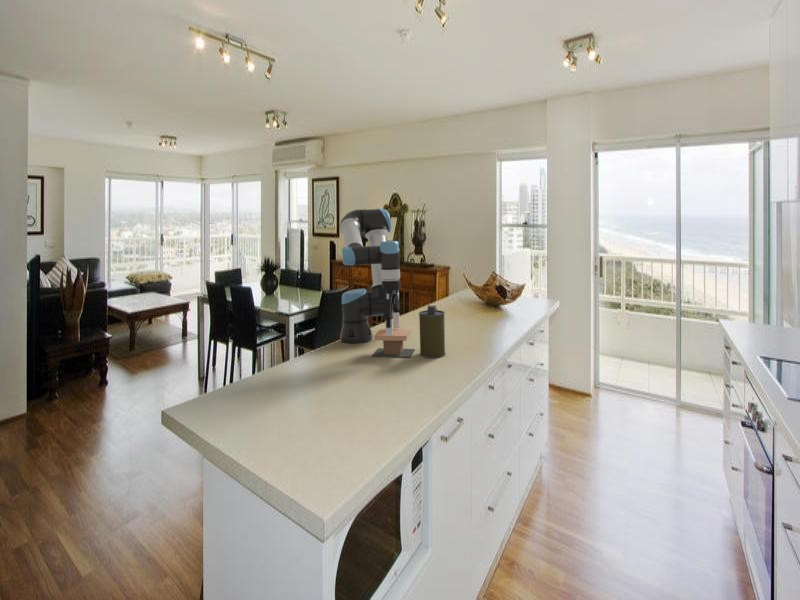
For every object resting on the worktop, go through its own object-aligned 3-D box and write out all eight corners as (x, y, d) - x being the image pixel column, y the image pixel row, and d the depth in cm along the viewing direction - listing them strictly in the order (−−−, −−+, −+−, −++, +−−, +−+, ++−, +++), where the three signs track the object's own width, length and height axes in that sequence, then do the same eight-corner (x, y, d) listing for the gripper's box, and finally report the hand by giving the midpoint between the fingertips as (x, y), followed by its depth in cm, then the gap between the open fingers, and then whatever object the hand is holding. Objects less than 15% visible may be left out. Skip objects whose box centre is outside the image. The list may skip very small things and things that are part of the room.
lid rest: (371, 357, 174) (370, 340, 173) (378, 349, 185) (377, 333, 184) (410, 358, 171) (410, 341, 170) (415, 350, 182) (414, 334, 181)
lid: (374, 340, 173) (374, 335, 173) (380, 333, 184) (380, 328, 183) (406, 340, 170) (406, 336, 170) (411, 333, 181) (410, 329, 181)
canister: (444, 358, 169) (443, 308, 166) (418, 357, 171) (416, 308, 168) (446, 350, 180) (446, 303, 176) (422, 350, 182) (420, 303, 178)
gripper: (388, 276, 186) (390, 324, 189) (373, 283, 162) (376, 338, 165) (405, 276, 184) (407, 324, 187) (393, 283, 160) (395, 339, 163)
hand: (393, 331), depth 176 cm, fingers open, 13 cm apart
